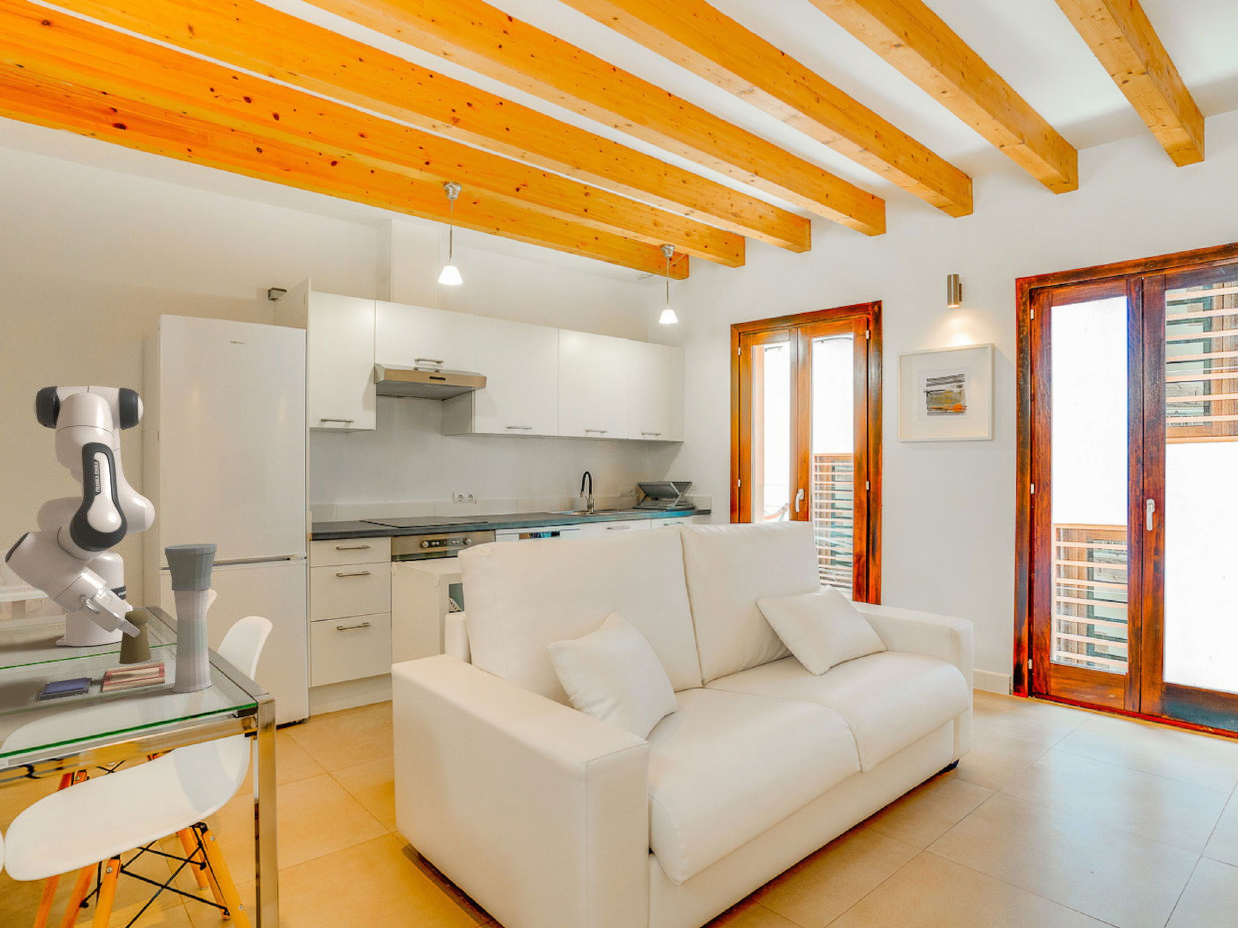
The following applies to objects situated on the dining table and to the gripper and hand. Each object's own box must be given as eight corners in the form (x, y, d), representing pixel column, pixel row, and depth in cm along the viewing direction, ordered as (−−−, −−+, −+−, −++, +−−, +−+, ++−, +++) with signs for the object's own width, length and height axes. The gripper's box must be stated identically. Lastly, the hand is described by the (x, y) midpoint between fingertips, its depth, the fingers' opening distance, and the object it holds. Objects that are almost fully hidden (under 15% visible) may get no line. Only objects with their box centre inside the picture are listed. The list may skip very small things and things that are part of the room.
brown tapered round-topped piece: (135, 664, 158) (133, 614, 158) (112, 663, 159) (110, 613, 159) (158, 656, 164) (156, 608, 163) (135, 656, 165) (134, 607, 165)
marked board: (107, 671, 166) (107, 668, 166) (164, 663, 172) (164, 661, 172) (102, 692, 151) (102, 689, 151) (164, 682, 157) (164, 680, 157)
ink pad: (45, 687, 155) (45, 681, 155) (91, 680, 159) (91, 675, 159) (39, 700, 146) (39, 694, 146) (88, 693, 150) (88, 687, 150)
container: (157, 690, 152) (155, 547, 152) (202, 678, 160) (200, 542, 160) (182, 697, 147) (180, 549, 147) (227, 684, 155) (226, 544, 155)
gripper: (92, 588, 149) (149, 629, 154) (98, 575, 166) (150, 613, 171) (65, 612, 146) (124, 653, 152) (74, 597, 164) (127, 634, 169)
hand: (138, 631), depth 162 cm, fingers closed on brown tapered round-topped piece, 4 cm apart
